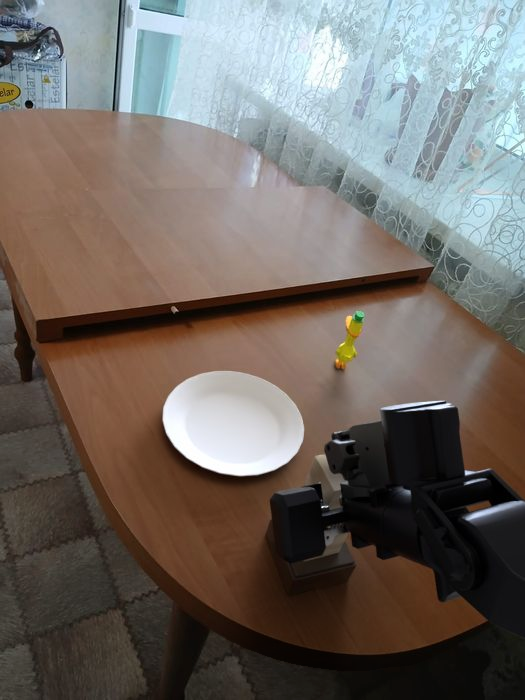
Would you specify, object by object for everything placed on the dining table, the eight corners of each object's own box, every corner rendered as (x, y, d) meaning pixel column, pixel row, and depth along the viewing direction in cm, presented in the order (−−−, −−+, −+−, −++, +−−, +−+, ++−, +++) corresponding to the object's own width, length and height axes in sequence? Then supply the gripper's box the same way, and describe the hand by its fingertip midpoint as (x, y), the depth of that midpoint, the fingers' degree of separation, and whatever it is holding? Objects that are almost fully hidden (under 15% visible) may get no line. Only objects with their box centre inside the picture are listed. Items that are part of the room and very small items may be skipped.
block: (339, 552, 63) (373, 483, 55) (303, 561, 62) (334, 491, 54) (322, 519, 67) (352, 449, 59) (288, 527, 65) (315, 455, 57)
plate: (232, 513, 69) (235, 503, 68) (131, 418, 79) (132, 407, 77) (327, 438, 83) (331, 428, 82) (232, 364, 92) (234, 354, 91)
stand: (348, 581, 65) (357, 563, 63) (287, 596, 62) (294, 578, 60) (321, 524, 71) (329, 505, 68) (264, 535, 68) (270, 516, 65)
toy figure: (328, 351, 101) (346, 297, 93) (347, 354, 101) (366, 300, 94) (332, 375, 95) (352, 320, 88) (352, 378, 96) (373, 323, 88)
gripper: (479, 415, 51) (382, 414, 65) (301, 445, 44) (236, 436, 58) (496, 536, 50) (394, 507, 64) (318, 586, 43) (248, 542, 57)
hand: (322, 496), depth 61 cm, fingers open, 6 cm apart
